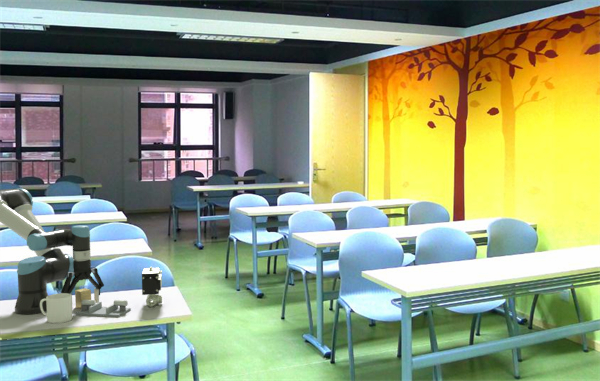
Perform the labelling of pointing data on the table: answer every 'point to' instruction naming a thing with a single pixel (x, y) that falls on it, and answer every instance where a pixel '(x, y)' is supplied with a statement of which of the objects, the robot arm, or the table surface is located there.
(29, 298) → the robot arm
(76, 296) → the coupling block
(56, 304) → the mug
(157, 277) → the ball valve
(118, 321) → the table surface
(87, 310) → the shaft rig
